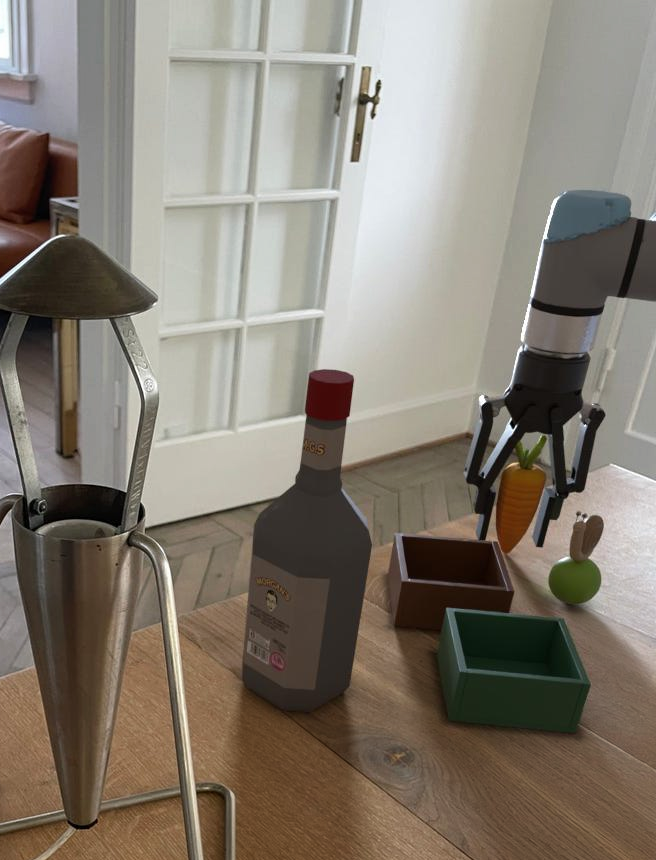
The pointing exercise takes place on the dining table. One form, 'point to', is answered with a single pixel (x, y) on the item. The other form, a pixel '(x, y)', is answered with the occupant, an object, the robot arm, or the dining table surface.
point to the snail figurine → (578, 564)
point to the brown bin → (445, 579)
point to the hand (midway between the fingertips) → (508, 539)
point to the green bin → (511, 670)
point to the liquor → (308, 567)
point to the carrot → (519, 496)
